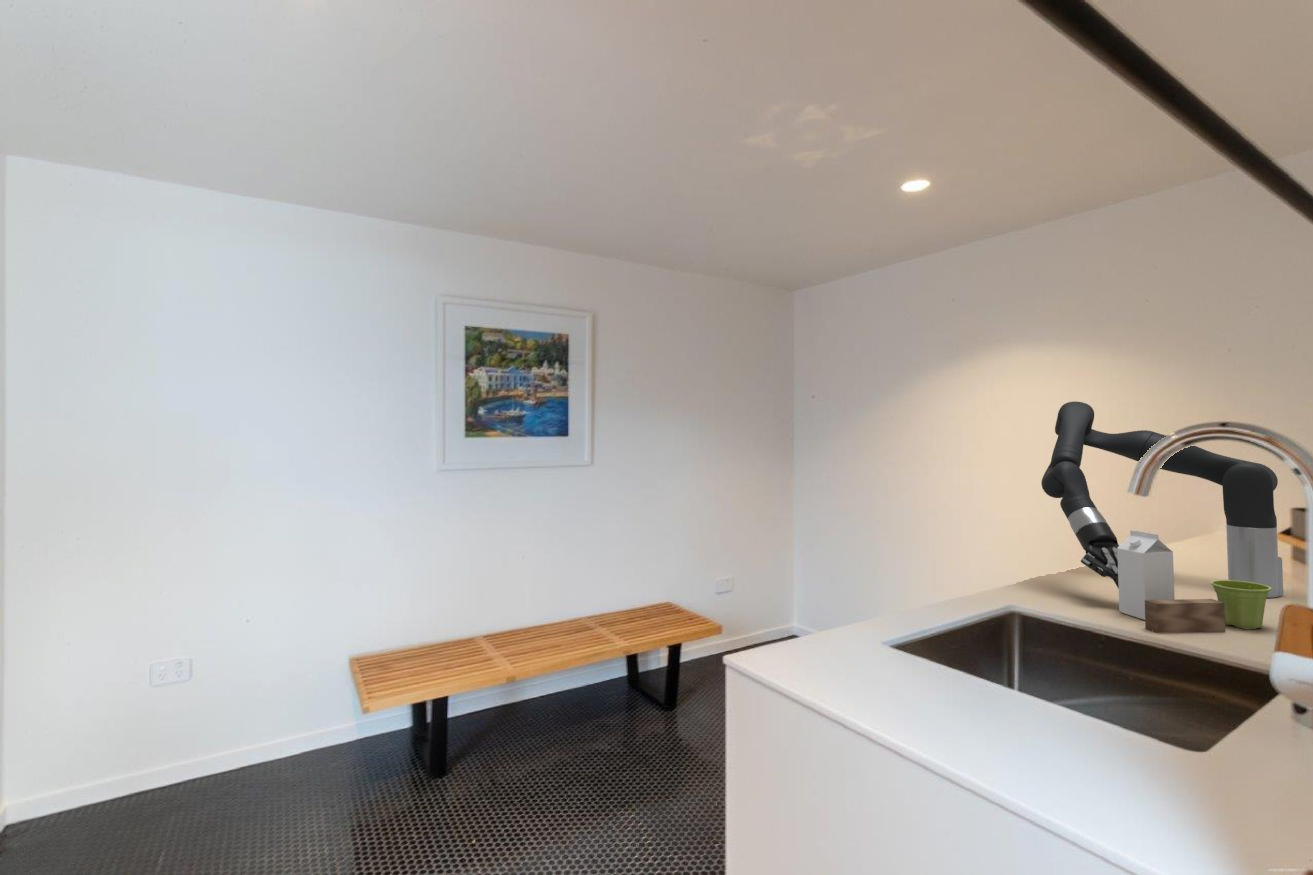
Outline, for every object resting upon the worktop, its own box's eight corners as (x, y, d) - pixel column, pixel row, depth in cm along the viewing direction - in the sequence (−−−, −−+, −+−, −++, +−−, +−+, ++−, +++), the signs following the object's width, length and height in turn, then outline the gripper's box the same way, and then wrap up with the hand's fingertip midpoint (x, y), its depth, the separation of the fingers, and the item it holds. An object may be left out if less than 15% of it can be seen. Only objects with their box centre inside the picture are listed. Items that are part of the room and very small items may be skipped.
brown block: (1210, 626, 130) (1209, 598, 130) (1225, 631, 126) (1224, 602, 127) (1144, 627, 130) (1143, 599, 130) (1156, 632, 127) (1155, 603, 127)
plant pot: (1220, 628, 128) (1219, 587, 128) (1205, 616, 137) (1204, 578, 137) (1281, 634, 124) (1279, 591, 124) (1261, 621, 132) (1260, 581, 132)
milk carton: (1147, 610, 142) (1144, 529, 143) (1175, 619, 135) (1172, 533, 135) (1119, 612, 142) (1116, 530, 142) (1146, 621, 135) (1143, 535, 135)
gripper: (1110, 537, 157) (1148, 598, 145) (1058, 538, 158) (1091, 599, 146) (1125, 520, 152) (1165, 581, 140) (1071, 521, 152) (1107, 582, 140)
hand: (1127, 590), depth 143 cm, fingers closed
